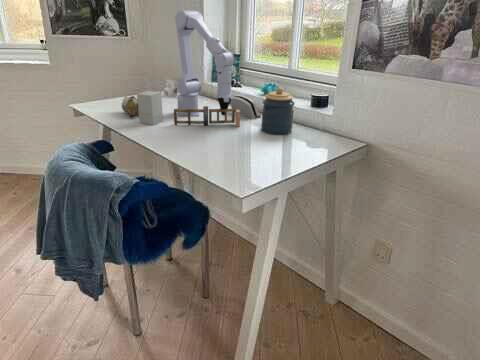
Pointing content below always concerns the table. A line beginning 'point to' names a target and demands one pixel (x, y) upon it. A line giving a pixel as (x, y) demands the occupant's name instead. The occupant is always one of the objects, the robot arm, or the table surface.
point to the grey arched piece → (244, 106)
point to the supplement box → (150, 107)
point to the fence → (188, 116)
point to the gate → (218, 116)
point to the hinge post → (205, 115)
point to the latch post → (237, 118)
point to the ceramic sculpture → (130, 106)
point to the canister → (277, 112)
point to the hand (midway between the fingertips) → (223, 114)
